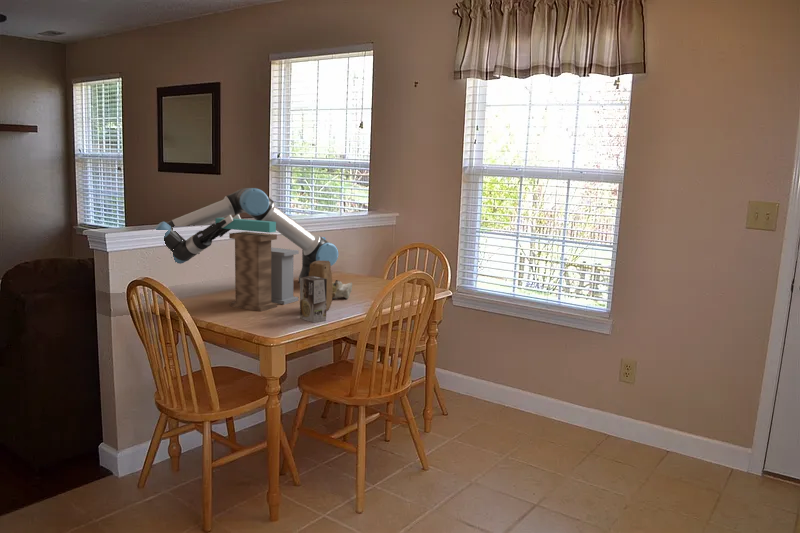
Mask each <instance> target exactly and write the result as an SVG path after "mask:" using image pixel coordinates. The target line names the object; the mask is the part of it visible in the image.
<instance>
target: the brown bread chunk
mask: <svg viewBox="0 0 800 533" xmlns="http://www.w3.org/2000/svg"><path fill="white" fill-rule="evenodd" d="M309 276H316V277H321V278H325V279H327V300H326V312H327V311H329V309H330V308H331V305H332V302H333V299H332V289H333V283H334V282H333V273H332V266H331V264H330V262H329V261H320V260H318V261H314V262H312V263H311V264H310V272H309Z"/></svg>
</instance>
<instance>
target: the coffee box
mask: <svg viewBox="0 0 800 533" xmlns="http://www.w3.org/2000/svg"><path fill="white" fill-rule="evenodd" d="M326 300H327V279H325V278H321V277H316V276H307V277H301V278H300V283H299V305H300V306H299V318H300V319H302V320H305V321H308V322H311V323H319V322H323V321H324V322H325V321H327V311H326Z"/></svg>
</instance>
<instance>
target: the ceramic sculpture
mask: <svg viewBox="0 0 800 533" xmlns="http://www.w3.org/2000/svg"><path fill="white" fill-rule="evenodd" d="M332 283H333V289H332V300H337V299H340V298H344V299H349V298H350V296H351V293H352V289H353V282H352V281H351V282H348V283H343V282H342V281H340V280H338V279H336V280H334V282H332Z"/></svg>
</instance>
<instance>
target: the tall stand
mask: <svg viewBox="0 0 800 533" xmlns="http://www.w3.org/2000/svg"><path fill="white" fill-rule="evenodd" d="M228 235H229V236H228V239H231V240H232V239H233V240H234V272H235V273H234V275H235V276H234V279H235V280H234V282H235V283H234V284H235V286H234V287H235V288H234V289H235V290H234V291H235V294H234V295H235V297H234V298H235V300H234V301H232V302H230V303H229V307H233V308H239V309H245V310H251V311H256V312H264V311H267V310H270V309H271V310H272V309H273V308H274V309H275V308H277V306H278V304H277V303H272V302H271V248H272V241H274V240H275V241H276V240H277V239H278V237H277V236H278V234H274V233H267V232H256V231H240V232H233V233H232V232H231V233H229V234H228Z"/></svg>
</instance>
